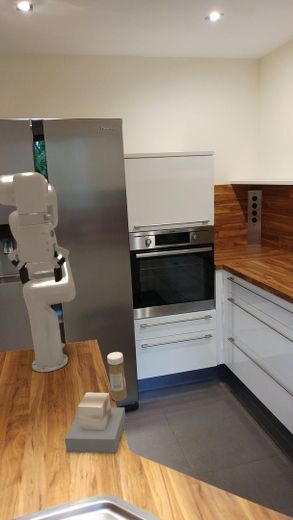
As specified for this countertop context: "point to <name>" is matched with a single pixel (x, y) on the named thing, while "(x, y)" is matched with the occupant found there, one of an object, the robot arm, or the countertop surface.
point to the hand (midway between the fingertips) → (42, 282)
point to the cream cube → (94, 411)
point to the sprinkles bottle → (117, 376)
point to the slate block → (96, 435)
